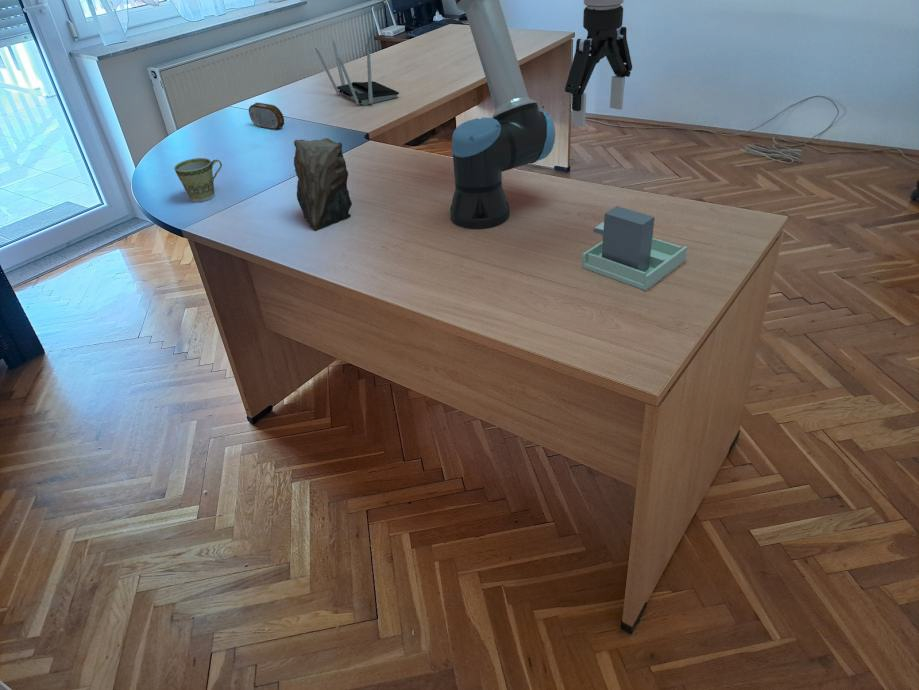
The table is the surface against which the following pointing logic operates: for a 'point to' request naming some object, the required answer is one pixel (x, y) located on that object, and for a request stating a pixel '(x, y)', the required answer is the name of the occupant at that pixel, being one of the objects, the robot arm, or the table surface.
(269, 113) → the tin
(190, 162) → the ceramic cup
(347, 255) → the table surface
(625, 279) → the green divided tray
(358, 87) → the wireless router
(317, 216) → the rock
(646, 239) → the blue-grey rectangular block
